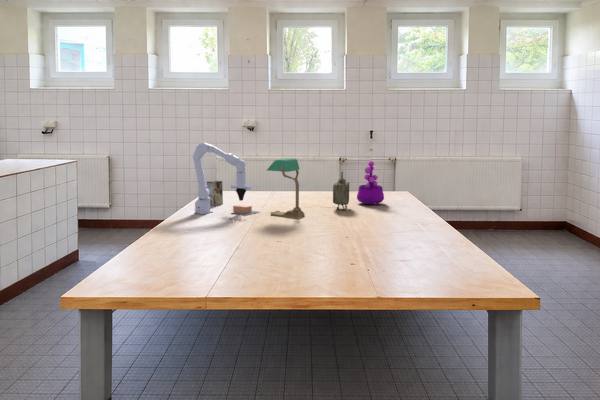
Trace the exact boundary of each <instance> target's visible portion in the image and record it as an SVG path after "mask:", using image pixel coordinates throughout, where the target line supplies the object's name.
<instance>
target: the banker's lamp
mask: <svg viewBox="0 0 600 400" xmlns="http://www.w3.org/2000/svg"><path fill="white" fill-rule="evenodd" d="M298 161H299V160H298V159H297V158H295V157H294V158H291V157H287V158H279V159H275V160H273V162H272V163H271V165H269V167H268V168H267V169H266V171H269V172H270V171H271V172H281V173H282V176H283V177H284V178H288V179H292V180H293V181H294V183H295V207H292V208H293V209H289V210H287V211H280V210H275V211H272V212H270V216H271V217H272V216H274V217H280V218H281V217H282V218H291V219H300V218H303V217H305V215H306V214H305V213H304V211H303V210H302V209H301V207H300V198H299V197H300V195H299V194H300V187H299V186H300V184H299V183H300V182H299V180H298V177H299V174H300V172H299V171H300V166H299V162H298ZM294 171H295V173H296V175H295V177H292V176H290V175H287V174H286V173H289V172H294Z"/></svg>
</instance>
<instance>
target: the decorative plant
mask: <svg viewBox="0 0 600 400" xmlns="http://www.w3.org/2000/svg"><path fill="white" fill-rule="evenodd" d="M374 165H375V162H374V161H373V160H370V161H368V166H367V167H365V168H364V173H365V175H364V176H363V177H364V179H365V180H366V181H367V182H366V183H365V184H361V185H359V186H358V191H357V194H356V200H357V201H358V202H360V203H361V204H364V205H377V204H379V203H382V202H383V201H384V200H385V194H384V190H383V186H382V185H378V181H377V180H378V175H377V174H373V171H374V169H375V167H374Z"/></svg>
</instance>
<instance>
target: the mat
mask: <svg viewBox="0 0 600 400" xmlns="http://www.w3.org/2000/svg"><path fill="white" fill-rule="evenodd" d="M259 213H260V211H257V210H252V212H251V213H247V214H245V213H236V212H231V213H230V214H231V215H237V216H245V217H246V216H250V215H255V214H259Z"/></svg>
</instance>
